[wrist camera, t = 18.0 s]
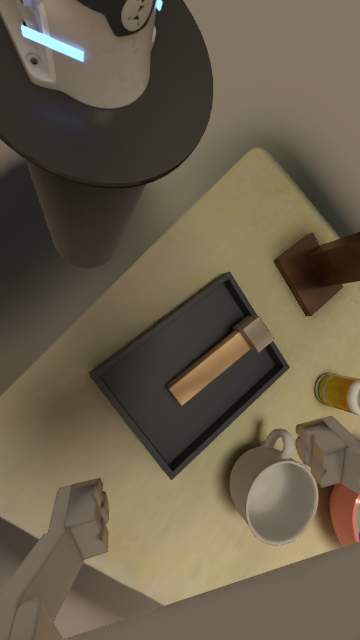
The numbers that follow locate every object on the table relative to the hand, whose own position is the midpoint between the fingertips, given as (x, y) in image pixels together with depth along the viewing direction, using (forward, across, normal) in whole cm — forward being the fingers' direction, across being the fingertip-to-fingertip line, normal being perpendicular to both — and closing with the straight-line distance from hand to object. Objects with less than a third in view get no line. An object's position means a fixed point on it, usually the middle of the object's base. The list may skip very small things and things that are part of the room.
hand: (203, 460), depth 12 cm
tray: (+27, -5, +13) cm, 30 cm away
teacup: (+22, -11, +30) cm, 39 cm away
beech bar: (+26, -8, +12) cm, 30 cm away
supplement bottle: (+28, -27, +24) cm, 46 cm away
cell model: (+21, -28, +42) cm, 55 cm away
